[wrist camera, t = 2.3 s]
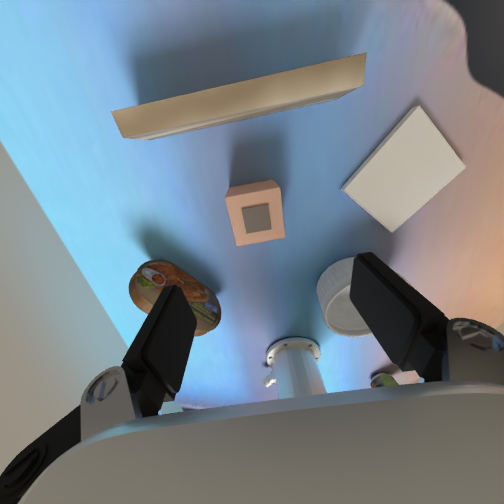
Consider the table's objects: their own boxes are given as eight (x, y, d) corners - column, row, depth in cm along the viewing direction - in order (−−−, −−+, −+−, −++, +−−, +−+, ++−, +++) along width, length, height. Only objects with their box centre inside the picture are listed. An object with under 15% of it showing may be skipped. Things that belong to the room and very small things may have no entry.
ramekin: (355, 312, 38) (376, 344, 32) (298, 298, 36) (308, 329, 30) (399, 261, 32) (435, 287, 26) (334, 240, 30) (357, 263, 23)
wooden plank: (336, 99, 21) (363, 84, 16) (149, 140, 22) (122, 137, 17) (336, 75, 20) (366, 52, 15) (141, 119, 21) (110, 111, 16)
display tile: (387, 230, 29) (391, 232, 28) (340, 189, 25) (343, 190, 25) (458, 166, 25) (466, 167, 24) (412, 107, 21) (419, 105, 20)
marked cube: (277, 220, 28) (285, 238, 22) (238, 227, 28) (236, 247, 23) (272, 178, 25) (280, 187, 19) (229, 187, 25) (224, 198, 20)
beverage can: (365, 374, 50) (397, 434, 40) (393, 366, 48) (434, 426, 38) (369, 384, 53) (399, 442, 42) (396, 377, 51) (434, 436, 41)
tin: (224, 299, 35) (219, 339, 28) (213, 307, 36) (205, 348, 29) (154, 250, 29) (124, 284, 22) (143, 261, 30) (111, 298, 23)
